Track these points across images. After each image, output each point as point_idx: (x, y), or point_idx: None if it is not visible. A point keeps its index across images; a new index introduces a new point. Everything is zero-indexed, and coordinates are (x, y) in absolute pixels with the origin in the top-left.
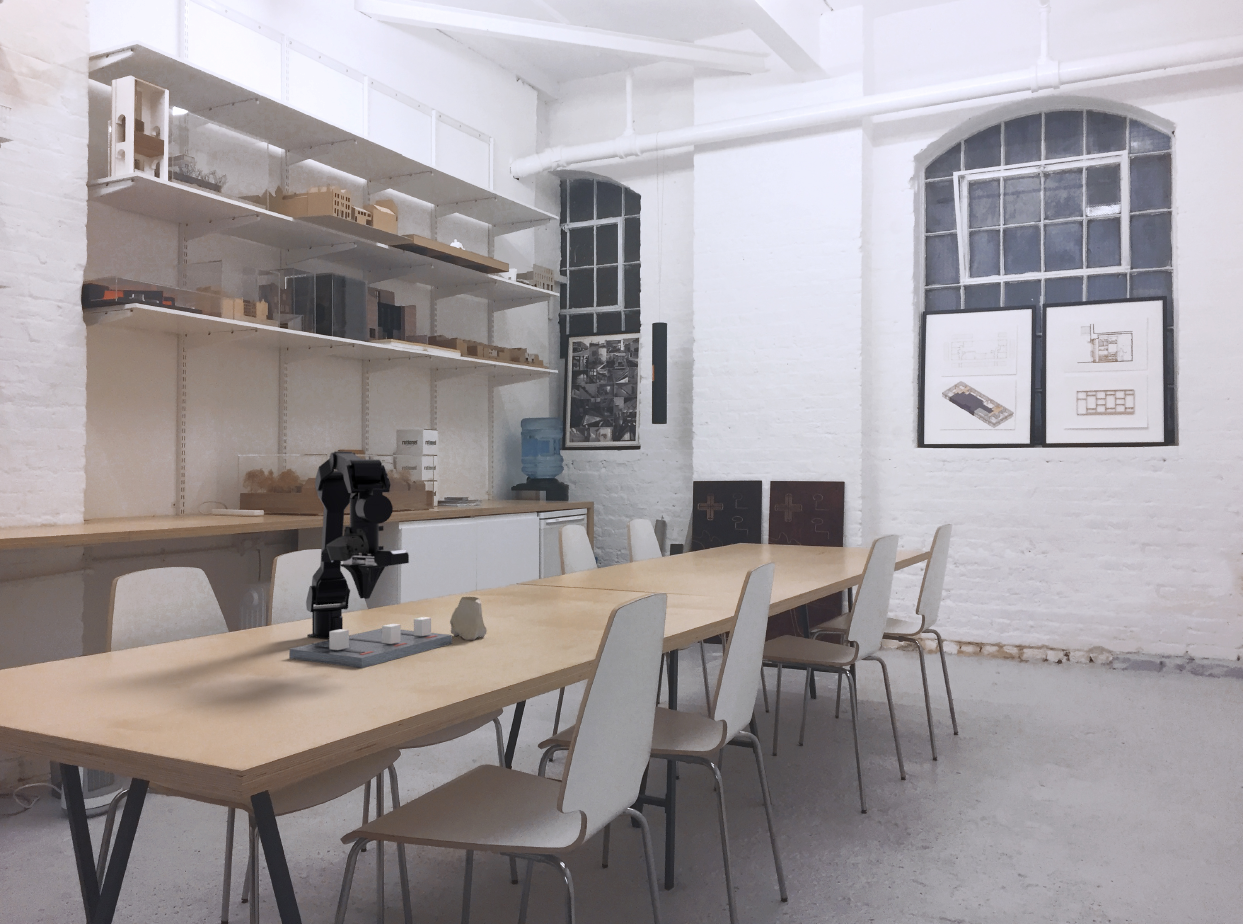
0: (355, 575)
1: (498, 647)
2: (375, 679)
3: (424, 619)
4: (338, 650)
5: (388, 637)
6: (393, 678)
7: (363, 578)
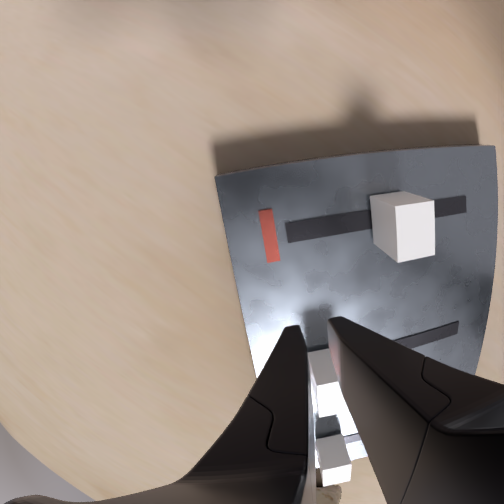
0: (435, 403)
1: (176, 473)
2: (73, 122)
3: (322, 474)
4: None
5: (319, 361)
6: (51, 161)
7: (295, 419)
